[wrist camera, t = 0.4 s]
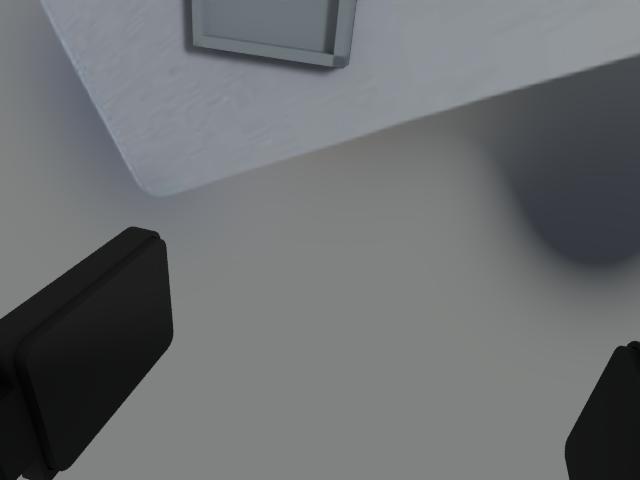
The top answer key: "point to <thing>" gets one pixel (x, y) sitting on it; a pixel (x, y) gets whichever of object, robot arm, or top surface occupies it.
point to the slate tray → (278, 28)
